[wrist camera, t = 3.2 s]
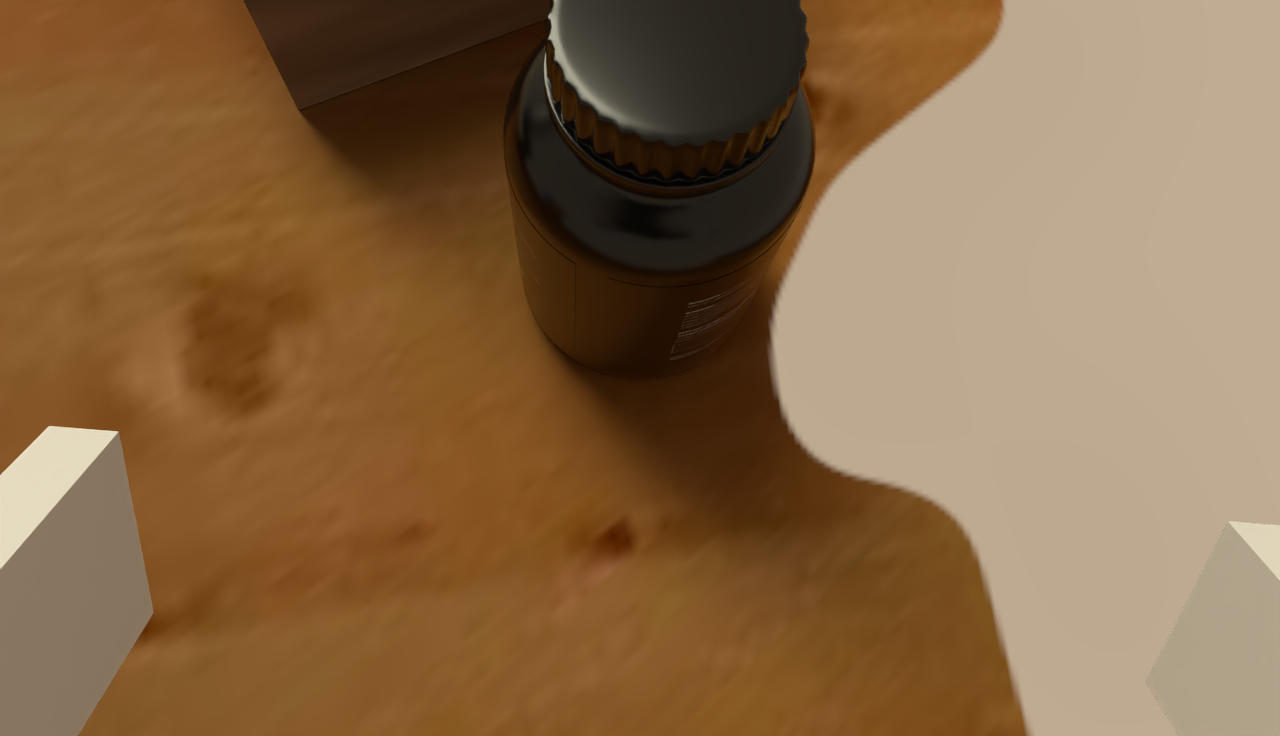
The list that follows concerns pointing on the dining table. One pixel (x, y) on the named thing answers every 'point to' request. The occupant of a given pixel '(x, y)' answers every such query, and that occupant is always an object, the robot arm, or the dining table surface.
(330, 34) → the walnut riser block
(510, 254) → the dining table surface
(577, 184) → the supplement bottle
